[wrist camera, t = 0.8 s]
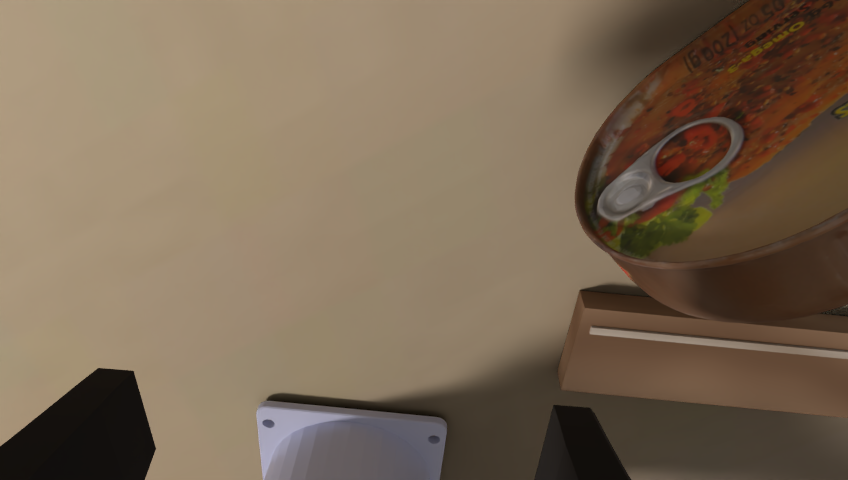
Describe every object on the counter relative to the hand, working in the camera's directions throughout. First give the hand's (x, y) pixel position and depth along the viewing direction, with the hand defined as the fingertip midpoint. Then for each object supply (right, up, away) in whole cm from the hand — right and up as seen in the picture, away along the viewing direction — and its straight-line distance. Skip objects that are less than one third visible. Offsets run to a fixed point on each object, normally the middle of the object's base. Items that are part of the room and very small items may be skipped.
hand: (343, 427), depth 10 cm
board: (+14, -1, +12) cm, 18 cm away
